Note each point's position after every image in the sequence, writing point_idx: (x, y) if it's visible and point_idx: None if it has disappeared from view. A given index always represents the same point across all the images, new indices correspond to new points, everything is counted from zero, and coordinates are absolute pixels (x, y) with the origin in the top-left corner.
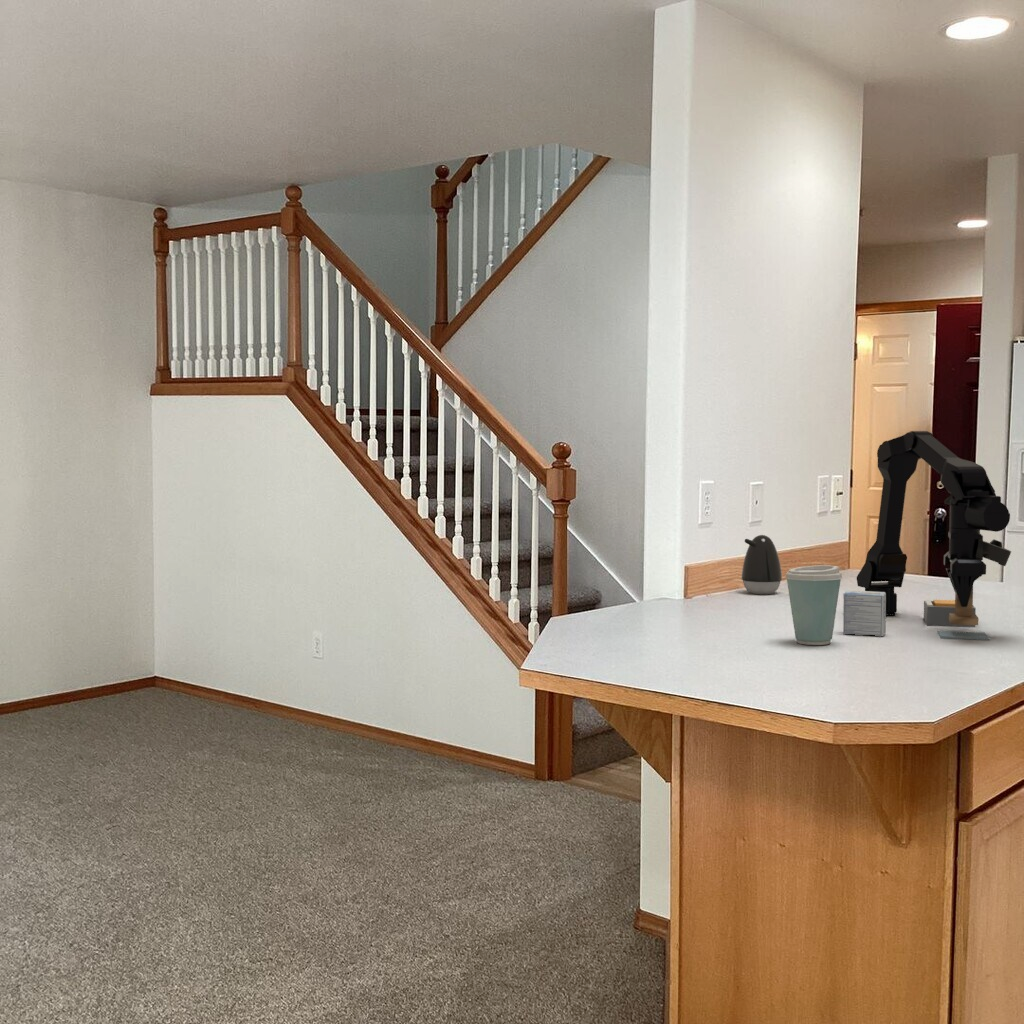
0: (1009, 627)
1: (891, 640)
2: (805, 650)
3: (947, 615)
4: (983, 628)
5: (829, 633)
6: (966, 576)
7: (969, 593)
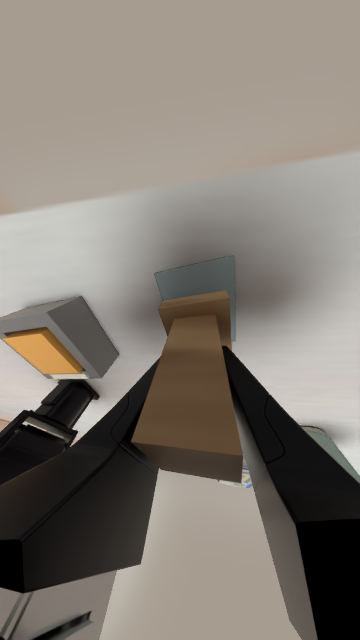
0: (27, 229)
1: (270, 386)
2: (357, 440)
3: (94, 344)
4: (84, 281)
5: (331, 445)
6: (343, 587)
7: (261, 386)
